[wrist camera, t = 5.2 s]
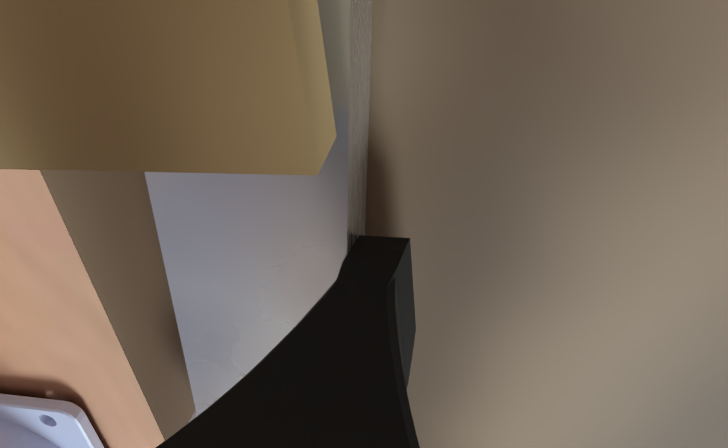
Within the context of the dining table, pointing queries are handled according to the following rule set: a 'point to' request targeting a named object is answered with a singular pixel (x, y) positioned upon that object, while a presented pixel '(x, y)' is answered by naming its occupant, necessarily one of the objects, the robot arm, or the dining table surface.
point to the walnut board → (425, 189)
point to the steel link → (266, 228)
